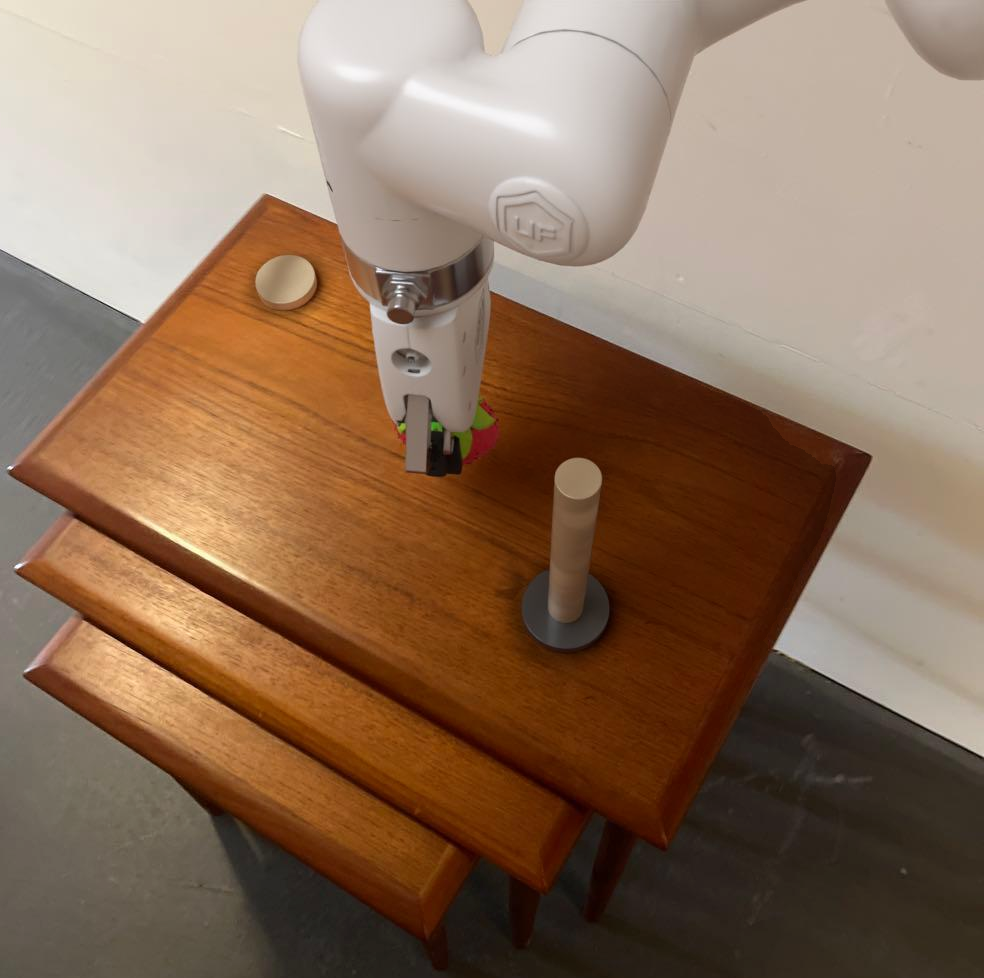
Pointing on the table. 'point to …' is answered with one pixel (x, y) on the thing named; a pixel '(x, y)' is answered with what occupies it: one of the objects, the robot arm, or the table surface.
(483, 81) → the robot arm
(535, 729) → the table surface
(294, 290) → the puck
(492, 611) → the table surface
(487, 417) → the strawberry
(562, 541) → the post
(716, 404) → the table surface
